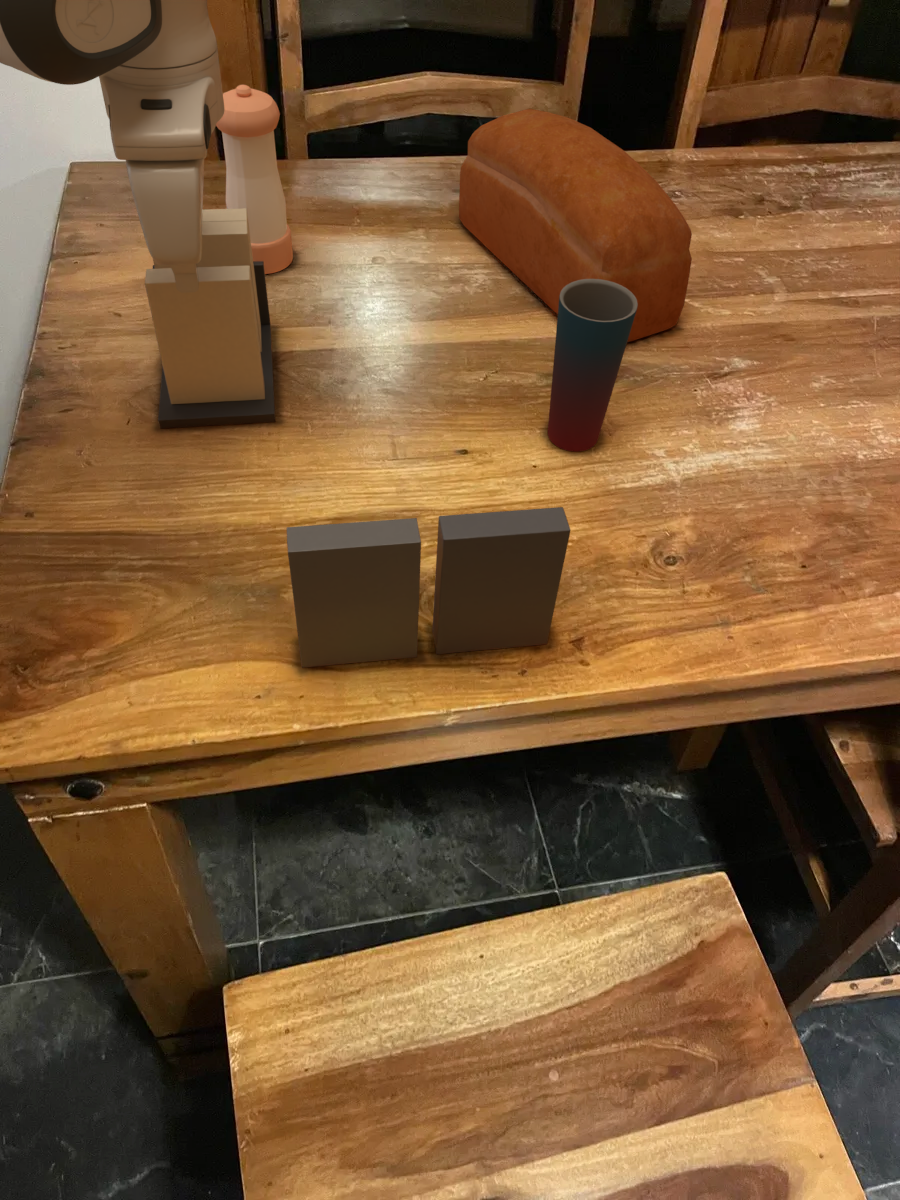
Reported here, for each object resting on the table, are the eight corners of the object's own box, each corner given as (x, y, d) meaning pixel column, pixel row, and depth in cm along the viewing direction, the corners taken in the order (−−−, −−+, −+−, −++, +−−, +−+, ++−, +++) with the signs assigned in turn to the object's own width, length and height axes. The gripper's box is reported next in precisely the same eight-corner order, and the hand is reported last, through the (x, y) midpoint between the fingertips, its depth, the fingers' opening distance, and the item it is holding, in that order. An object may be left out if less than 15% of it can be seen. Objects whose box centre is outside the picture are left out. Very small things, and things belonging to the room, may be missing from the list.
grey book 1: (301, 667, 72) (287, 552, 62) (300, 643, 74) (286, 526, 64) (417, 657, 73) (421, 542, 64) (413, 633, 75) (416, 517, 65)
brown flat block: (171, 404, 91) (144, 283, 81) (172, 389, 92) (146, 268, 82) (265, 399, 92) (249, 279, 82) (264, 384, 93) (249, 265, 84)
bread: (538, 197, 124) (553, 71, 112) (691, 325, 106) (728, 190, 94) (446, 218, 119) (453, 88, 107) (590, 355, 101) (616, 217, 89)
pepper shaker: (230, 275, 108) (206, 100, 93) (230, 243, 113) (207, 72, 98) (294, 273, 109) (279, 100, 94) (291, 241, 114) (277, 71, 99)
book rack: (159, 428, 90) (129, 298, 79) (167, 333, 100) (140, 206, 89) (275, 421, 91) (260, 293, 81) (271, 328, 101) (257, 203, 91)
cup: (541, 409, 95) (561, 274, 83) (608, 418, 94) (638, 283, 83) (535, 453, 90) (556, 316, 79) (606, 462, 90) (637, 326, 78)
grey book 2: (436, 654, 74) (443, 539, 64) (432, 631, 75) (438, 515, 65) (547, 644, 75) (571, 530, 65) (540, 621, 76) (563, 506, 67)
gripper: (128, 38, 77) (158, 202, 87) (108, 147, 64) (146, 325, 74) (207, 39, 78) (227, 201, 88) (203, 146, 65) (227, 322, 75)
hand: (190, 258), depth 81 cm, fingers open, 8 cm apart
